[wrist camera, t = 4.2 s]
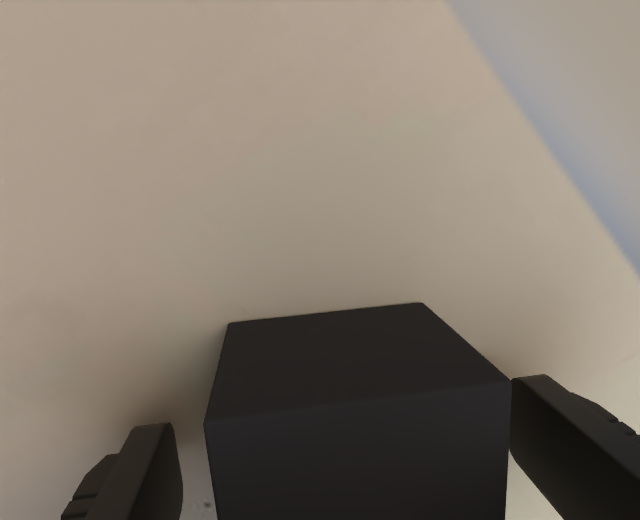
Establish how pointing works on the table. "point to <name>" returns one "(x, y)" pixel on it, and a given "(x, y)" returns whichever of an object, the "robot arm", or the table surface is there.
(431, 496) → the black square block
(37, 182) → the table surface
